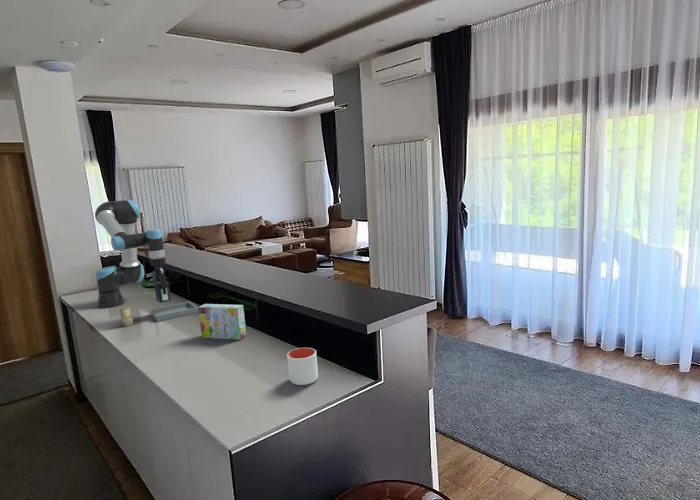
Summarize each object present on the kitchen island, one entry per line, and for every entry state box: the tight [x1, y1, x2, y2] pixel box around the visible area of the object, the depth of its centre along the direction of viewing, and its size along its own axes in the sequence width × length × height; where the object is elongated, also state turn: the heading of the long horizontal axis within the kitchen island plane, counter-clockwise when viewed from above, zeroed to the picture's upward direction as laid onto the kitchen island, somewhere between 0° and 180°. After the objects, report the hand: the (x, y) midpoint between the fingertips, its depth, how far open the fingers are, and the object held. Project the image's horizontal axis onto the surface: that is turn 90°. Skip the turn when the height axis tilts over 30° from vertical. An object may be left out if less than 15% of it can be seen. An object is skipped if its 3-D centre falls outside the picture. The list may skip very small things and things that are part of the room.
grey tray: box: [149, 301, 199, 323], centre depth 249 cm, size 18×22×3 cm
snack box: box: [197, 303, 247, 341], centre depth 204 cm, size 21×6×15 cm, turn 71°
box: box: [153, 280, 172, 304], centre depth 244 cm, size 8×6×11 cm
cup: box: [286, 347, 319, 386], centre depth 155 cm, size 10×10×10 cm
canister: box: [119, 306, 134, 328], centre depth 233 cm, size 5×5×9 cm
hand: (163, 298), depth 245 cm, fingers closed on box, 8 cm apart
